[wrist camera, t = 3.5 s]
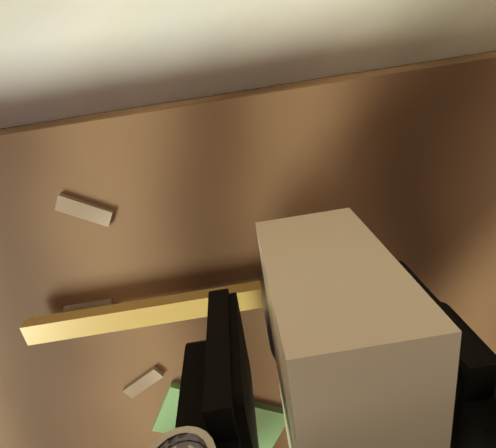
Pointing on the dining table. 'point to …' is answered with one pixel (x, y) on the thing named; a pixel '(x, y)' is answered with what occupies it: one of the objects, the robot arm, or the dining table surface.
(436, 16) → the dining table surface
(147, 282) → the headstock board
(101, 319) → the wooden toy mallet
